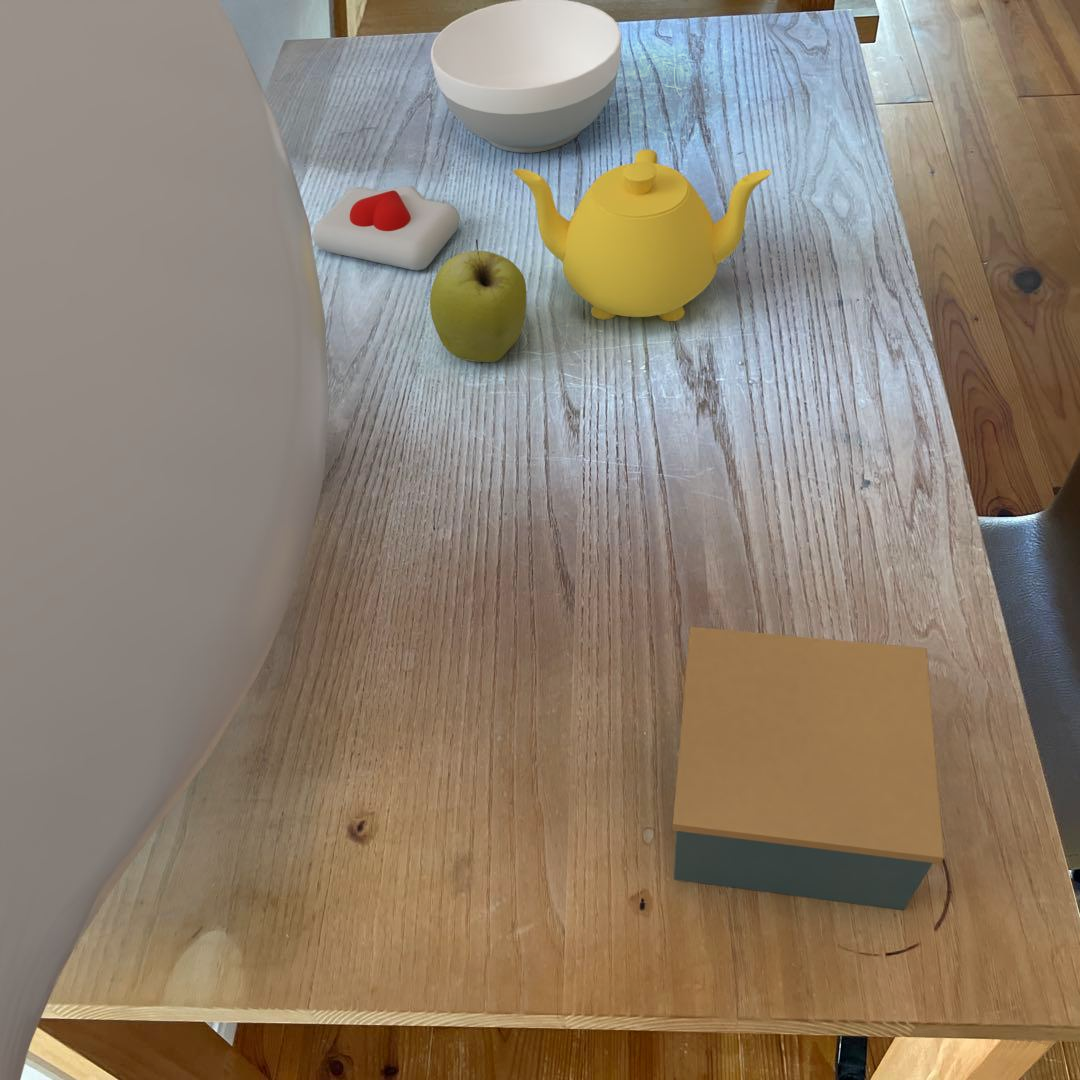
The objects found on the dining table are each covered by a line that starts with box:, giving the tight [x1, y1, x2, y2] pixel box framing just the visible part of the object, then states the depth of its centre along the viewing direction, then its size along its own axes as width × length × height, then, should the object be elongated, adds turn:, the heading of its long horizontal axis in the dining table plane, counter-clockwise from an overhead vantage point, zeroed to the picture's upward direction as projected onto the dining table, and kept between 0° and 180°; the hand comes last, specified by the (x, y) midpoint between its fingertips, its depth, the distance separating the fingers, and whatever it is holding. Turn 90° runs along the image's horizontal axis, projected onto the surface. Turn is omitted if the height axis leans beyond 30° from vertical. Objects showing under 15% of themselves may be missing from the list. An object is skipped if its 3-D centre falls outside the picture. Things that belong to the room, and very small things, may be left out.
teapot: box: [513, 148, 772, 322], centre depth 82 cm, size 20×15×12 cm
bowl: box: [430, 0, 623, 154], centre depth 101 cm, size 19×19×9 cm
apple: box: [429, 238, 527, 363], centre depth 79 cm, size 8×8×10 cm
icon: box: [312, 185, 461, 271], centre depth 92 cm, size 12×4×10 cm
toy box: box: [671, 626, 945, 911], centre depth 53 cm, size 11×12×8 cm
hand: (118, 446), depth 59 cm, fingers open, 8 cm apart
